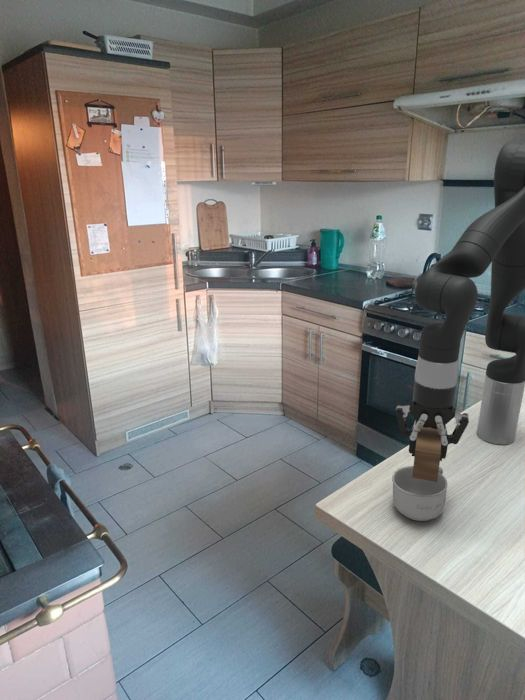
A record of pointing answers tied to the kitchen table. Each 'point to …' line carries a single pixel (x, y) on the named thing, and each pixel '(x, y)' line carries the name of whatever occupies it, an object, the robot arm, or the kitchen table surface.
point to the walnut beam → (427, 455)
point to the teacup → (418, 494)
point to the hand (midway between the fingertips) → (426, 456)
